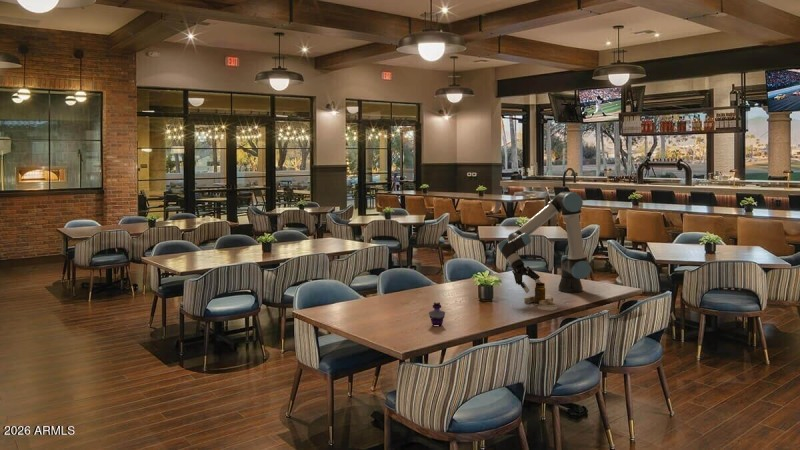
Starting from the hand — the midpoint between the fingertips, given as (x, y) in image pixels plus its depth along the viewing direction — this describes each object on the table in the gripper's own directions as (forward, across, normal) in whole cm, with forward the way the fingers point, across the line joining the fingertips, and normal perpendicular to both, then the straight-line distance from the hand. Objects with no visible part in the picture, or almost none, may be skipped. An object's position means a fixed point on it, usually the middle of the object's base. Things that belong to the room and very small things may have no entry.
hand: (535, 290), depth 376 cm
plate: (+15, +6, +4) cm, 17 cm away
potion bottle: (+3, +77, -8) cm, 78 cm away
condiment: (+7, -1, -4) cm, 8 cm away
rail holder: (+7, -1, -4) cm, 8 cm away
